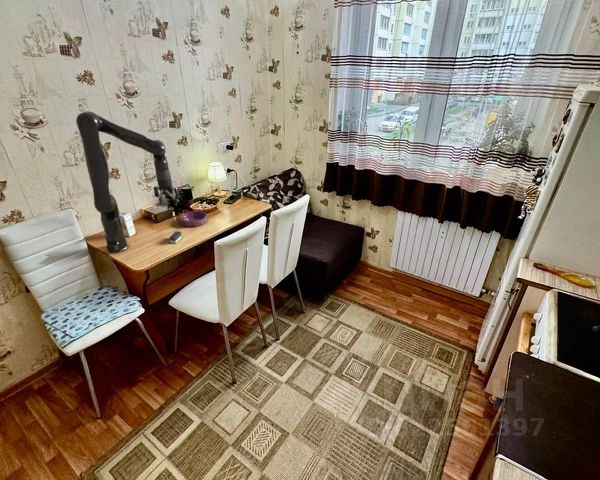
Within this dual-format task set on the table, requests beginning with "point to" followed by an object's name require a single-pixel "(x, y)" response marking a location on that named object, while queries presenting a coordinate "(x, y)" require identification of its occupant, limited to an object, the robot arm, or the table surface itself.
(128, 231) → the syrup box
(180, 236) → the eraser
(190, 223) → the bowl
